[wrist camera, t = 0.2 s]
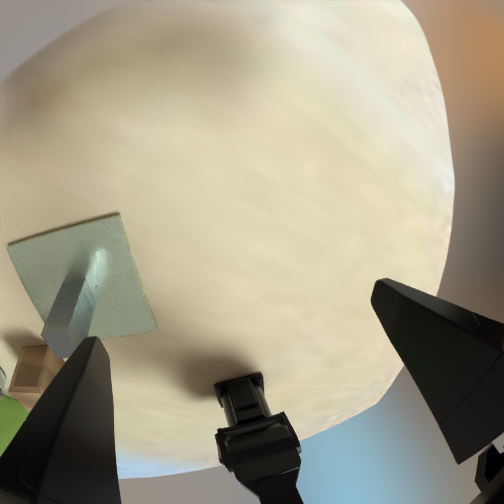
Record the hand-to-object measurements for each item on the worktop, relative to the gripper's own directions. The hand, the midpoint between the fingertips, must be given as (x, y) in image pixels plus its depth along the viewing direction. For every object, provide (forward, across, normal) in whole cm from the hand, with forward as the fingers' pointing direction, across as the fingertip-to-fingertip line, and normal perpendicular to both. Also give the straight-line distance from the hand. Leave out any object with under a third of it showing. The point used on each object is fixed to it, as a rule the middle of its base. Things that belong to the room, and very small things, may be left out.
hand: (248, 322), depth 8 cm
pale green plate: (+14, +12, +7) cm, 20 cm away
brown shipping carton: (+14, +22, +17) cm, 31 cm away
